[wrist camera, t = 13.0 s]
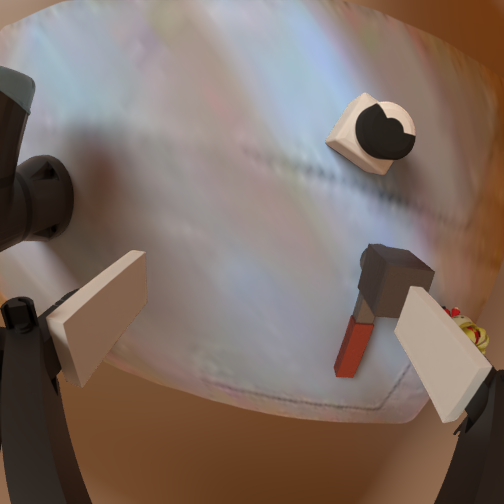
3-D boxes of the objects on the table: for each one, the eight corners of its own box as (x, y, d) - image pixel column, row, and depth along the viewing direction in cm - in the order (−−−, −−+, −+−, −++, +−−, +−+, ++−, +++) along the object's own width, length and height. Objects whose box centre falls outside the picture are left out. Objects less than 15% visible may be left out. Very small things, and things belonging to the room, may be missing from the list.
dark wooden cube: (368, 243, 36) (390, 265, 29) (408, 250, 36) (435, 271, 28) (357, 287, 38) (374, 316, 31) (396, 291, 38) (417, 319, 31)
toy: (447, 287, 40) (494, 333, 26) (460, 311, 42) (502, 357, 27) (417, 315, 42) (457, 369, 28) (432, 336, 44) (468, 389, 29)
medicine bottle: (366, 172, 36) (402, 180, 25) (323, 142, 35) (345, 136, 24) (390, 132, 34) (433, 126, 23) (349, 101, 33) (380, 81, 22)
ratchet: (364, 241, 39) (383, 260, 32) (395, 246, 39) (418, 265, 31) (328, 366, 47) (335, 398, 39) (355, 367, 47) (364, 398, 39)
